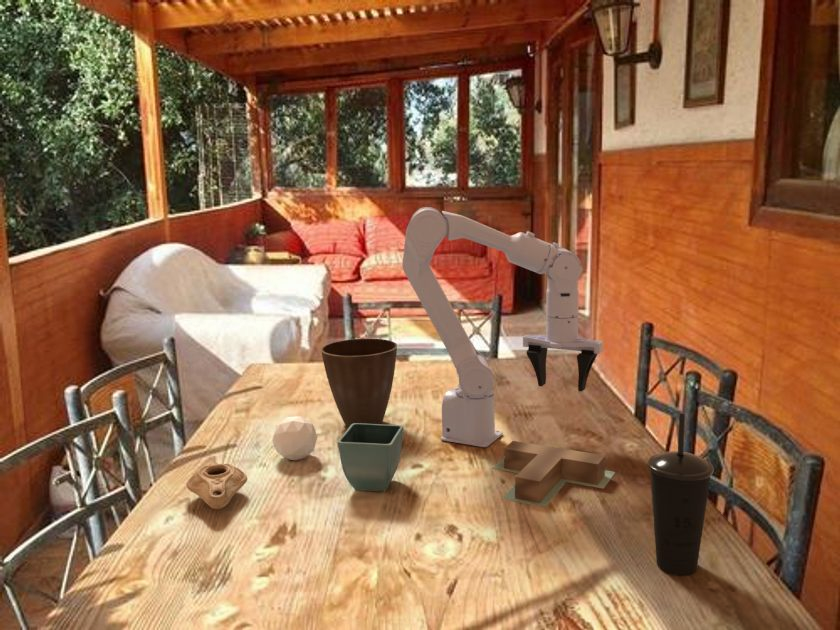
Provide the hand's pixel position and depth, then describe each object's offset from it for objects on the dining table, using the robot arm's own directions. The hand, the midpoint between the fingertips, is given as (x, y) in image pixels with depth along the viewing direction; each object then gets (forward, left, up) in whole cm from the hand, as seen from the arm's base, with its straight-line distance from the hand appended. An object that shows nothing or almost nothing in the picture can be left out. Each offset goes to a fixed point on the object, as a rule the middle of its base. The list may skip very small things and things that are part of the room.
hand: (561, 387), depth 139 cm
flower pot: (-20, -34, -10) cm, 41 cm away
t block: (+4, -22, -9) cm, 24 cm away
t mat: (+4, -21, -9) cm, 23 cm away
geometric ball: (-39, -30, -10) cm, 50 cm away
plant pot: (-38, -10, -10) cm, 40 cm away
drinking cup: (+28, -38, -10) cm, 48 cm away
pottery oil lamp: (-39, -50, -10) cm, 64 cm away
